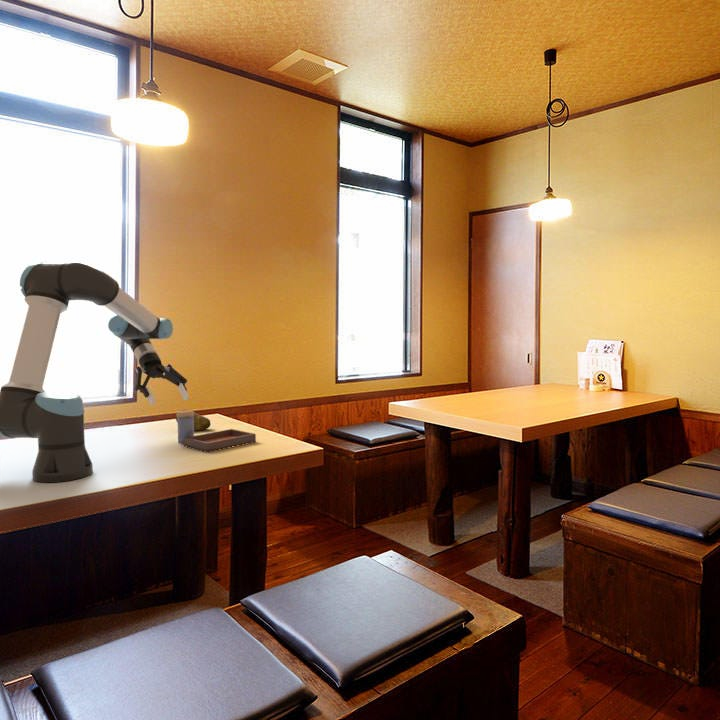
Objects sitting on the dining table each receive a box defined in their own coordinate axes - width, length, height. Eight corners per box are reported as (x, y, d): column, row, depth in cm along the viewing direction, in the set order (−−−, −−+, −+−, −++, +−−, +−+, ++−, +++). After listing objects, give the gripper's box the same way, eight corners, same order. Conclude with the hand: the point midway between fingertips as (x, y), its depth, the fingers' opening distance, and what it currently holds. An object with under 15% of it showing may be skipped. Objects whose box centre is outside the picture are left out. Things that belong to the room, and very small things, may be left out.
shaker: (183, 445, 199) (182, 413, 198) (174, 442, 203) (173, 412, 202) (197, 442, 203) (197, 411, 202) (188, 439, 207) (187, 409, 206)
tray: (207, 452, 187) (207, 443, 187) (184, 446, 197) (183, 437, 196) (255, 442, 202) (255, 433, 202) (231, 436, 212) (231, 428, 211)
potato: (201, 433, 219) (201, 412, 219) (172, 431, 223) (171, 411, 222) (213, 428, 227) (212, 409, 227) (184, 427, 231) (184, 407, 230)
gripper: (173, 362, 228) (196, 403, 220) (112, 367, 210) (134, 411, 201) (180, 349, 225) (203, 390, 216) (119, 353, 206) (142, 398, 197)
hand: (170, 400), depth 209 cm, fingers open, 13 cm apart
